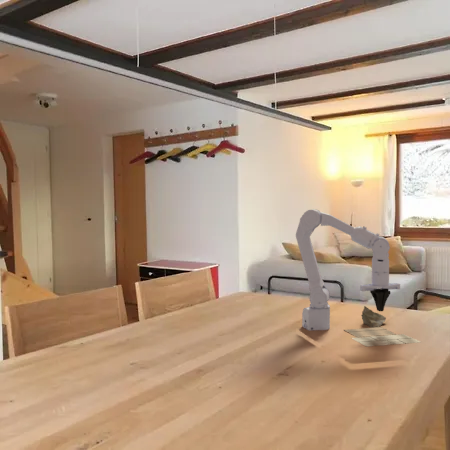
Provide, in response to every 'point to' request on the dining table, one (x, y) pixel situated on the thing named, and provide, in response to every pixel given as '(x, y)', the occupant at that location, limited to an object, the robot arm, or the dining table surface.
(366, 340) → the beige grooved panel
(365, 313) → the rock
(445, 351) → the dining table surface
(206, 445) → the dining table surface
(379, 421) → the dining table surface
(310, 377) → the dining table surface
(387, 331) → the plank
